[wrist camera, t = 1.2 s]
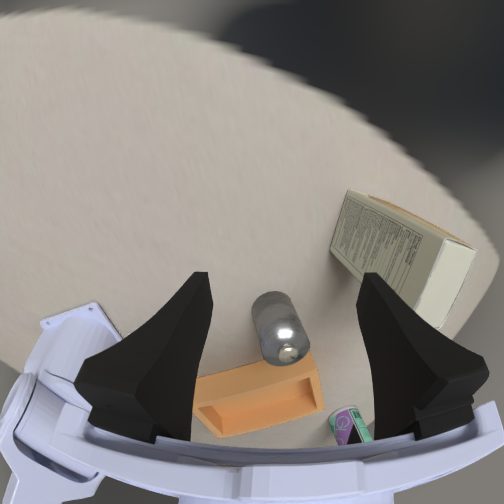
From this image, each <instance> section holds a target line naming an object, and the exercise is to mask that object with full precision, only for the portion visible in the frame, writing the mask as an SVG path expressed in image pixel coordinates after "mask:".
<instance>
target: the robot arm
mask: <svg viewBox="0 0 504 504" xmlns="http://www.w3.org/2000/svg"><path fill="white" fill-rule="evenodd" d="M91 308H92V309H91ZM356 308H357V315H358V321H359V325H360V329H361V333H362V336H363V340H364V344H365V347H366V351H367V355H368V358H369V362H370V367H371V374H372V382H373V393H374V411H375V430H374V441H370V442H364V443H357V444H349V445H341V446H331V447H318V448H298V449H262V448H241V447H229V446H219V445H210V444H202V443H195V442H190V438H191V421H192V411H193V401H194V393H195V385H196V379H197V372H198V367H199V363H200V359H201V355H202V352H203V348H204V345H205V341H206V338H207V334H208V330H209V327H210V323H211V317H212V310H213V300H212V295H211V289H210V284H209V278H208V272H194V273H193V274H192V275H191V276H190V277H189V279H188V280H187V281H186V282H185V283H184V284H183V286H182V287H181V288H180V289H179V290H178V291H177V292H176V293H175V295H174V296H173V297H172V298H171V299H170V300H169V301H168V302H167V303H166V304H165V305H164V306H163V307H162V308H161V309H160V310H159V311H158V312H157V313H156V314H155V315H154V316H153V317H152V318H151V319H149V320H148V321H147V322H146V323H145V324H143V325H142V326H141V327H140V328H138V329H137V330H136V331H134V332H133V333H131V334H130V335H128V336H127V337H126V338H124V339H122V338H121V336H120V335H119V334H118V332H117V331H116V329H115V328H114V327H113V325H112V324H111V322H110V321H109V319H108V318H107V316H106V315H105V313H104V312H103V310H102V309H101V307H100V306H99V305H98V304H97V303H95V302H93V303H90V304H87V305H84V306H81V307H78V308H75V309H72V310H69V311H67V312H64V313H61V314H58V315H55V316H52V317H49V318H46V319H43V320H41V322H40V325H41V326H42V328H43V329H44V330H43V332H42V334H41V336H40V337H39V339H38V341H37V343H36V344H35V346H34V348H33V350H32V352H31V353H30V355H29V357H28V359H27V361H26V364H25V368H24V373H23V374H21V375H20V376H19V378H18V379H17V381H16V382H15V384H14V386H13V387H12V389H11V391H10V393H9V395H8V397H7V399H6V401H5V403H4V406H3V409H2V412H1V415H0V451H1V453H2V455H3V457H4V458H5V460H6V462H7V463H8V465H9V466H10V468H11V469H12V474H11V477H10V480H9V483H8V486H7V489H6V492H5V495H4V499H3V502H2V504H62V502H64V501H69V500H75V499H81V498H86V497H91V496H93V495H94V493H95V491H96V490H97V488H98V486H99V484H100V482H101V481H102V480H103V478H104V477H105V476H109V477H112V478H114V479H117V480H120V481H123V482H125V483H128V484H131V485H134V486H137V487H140V488H144V489H147V490H151V491H154V492H158V493H161V494H166V495H169V496H174V497H178V498H179V504H394V496H393V493H395V492H399V491H402V490H406V489H409V488H412V487H415V486H418V485H421V484H424V483H427V482H429V481H432V480H435V479H437V478H440V477H443V476H445V475H447V474H450V473H452V472H454V471H456V470H459V469H461V468H463V467H465V466H468V465H470V464H471V463H474V462H476V461H477V460H479V459H481V458H483V457H485V456H486V455H488V454H490V453H491V452H493V451H495V450H496V449H498V448H500V447H501V446H503V445H504V431H503V427H502V424H501V421H500V417H499V414H498V411H497V407H496V404H495V402H494V400H492V401H490V402H487V403H485V404H482V405H480V406H478V407H476V408H474V409H472V406H471V404H472V403H474V399H473V396H472V395H473V394H474V393H475V392H476V391H477V390H478V389H479V388H480V387H481V386H482V385H483V384H484V383H485V382H486V380H487V378H488V377H489V370H488V368H487V365H486V363H485V361H484V358H483V357H482V356H480V355H478V354H476V353H474V352H471V351H469V350H467V349H466V348H464V347H462V346H460V345H459V344H457V343H455V342H454V341H452V340H450V339H449V338H447V337H446V336H444V335H443V334H442V333H440V332H439V331H437V330H436V329H435V328H433V327H432V326H431V325H430V324H428V323H427V322H426V321H425V320H424V319H422V318H421V317H420V316H419V315H418V314H417V313H416V312H415V311H414V310H413V309H412V308H410V307H409V306H408V305H407V304H406V303H405V302H404V301H403V300H402V299H401V297H400V296H399V295H398V294H397V293H396V292H395V291H394V290H393V289H392V288H391V287H390V286H389V285H388V284H387V283H386V282H385V281H384V280H383V278H382V277H381V276H380V275H379V274H378V273H377V272H366V273H364V276H363V280H362V284H361V288H360V292H359V296H358V299H357V303H356ZM215 463H216V464H215ZM217 464H226V465H237V466H244V467H218V465H217Z"/></svg>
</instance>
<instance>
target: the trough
mask: <svg viewBox="0 0 504 504" xmlns="http://www.w3.org/2000/svg"><path fill="white" fill-rule="evenodd" d="M322 410H325V405H324V400H323V395H322V390H321V384H320V379H319V374H318V370H317V367H316V365H315V362H314V360H313V358H312V355H311V353H310V351H308V353H307V354H306V355H305V356H304V357H303V358H302V359H301V360H300V361H298V362H296V363H294V364H291V365H288V366H273V365H271V364H269V363H267V362H266V361H265V360H262V361H258V362H255V363H252V364H248V365H245V366H241V367H238V368H234V369H231V370H227V371H223V372H219V373H215V374H212V375H208V376H203V377H199V378H197V379H196V385H195V393H194V401H193V411H192V412H193V413H194V415H195V416H196V417H197V418H198V419H199V420H200V421H201V422H202V423H203V424H204V425H205V426H206V427H207V428H208V429H209V430H210V431H211V432H212V433H213V434H214V435H215V436H217V437H218V438H219V439H220V438H225V437H230V436H235V435H240V434H244V433H248V432H253V431H257V430H261V429H265V428H268V427H272V426H276V425H279V424H283V423H286V422H289V421H292V420H296V419H299V418H302V417H305V416H308V415H311V414H314V413H316V412H319V411H322Z"/></svg>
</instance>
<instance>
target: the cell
mask: <svg viewBox="0 0 504 504" xmlns="http://www.w3.org/2000/svg"><path fill="white" fill-rule="evenodd" d="M252 314H253V318H254V322H255V326H256V330H257V334H258V338H259V342H260V346H261V350H262V354H263V357H264V360H265V361H266V362H267V363H269V364H271V365H273V366H288V365H291V364H294V363H296V362H298V361H300V360H301V359H302V358H303V357H304V356H305V355H306V354H307V353H308V351H309V348H310V342H309V339H308V337H307V335H306V332H305V330H304V328H303V326H302V324H301V321H300V319H299V317H298V315H297V313H296V311H295V308H294V306H293V304H292V302H291V300H290V298H289V297H288V296H287V295H286V294H285V293H282V292H278V291H272V292H267V293H265V294H263V295H261V296H260V297H258V298H257V299H256V301H255V302H254V304H253V306H252Z"/></svg>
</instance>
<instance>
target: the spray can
mask: <svg viewBox="0 0 504 504" xmlns="http://www.w3.org/2000/svg"><path fill="white" fill-rule="evenodd" d="M328 420H329V423H330V426H331V428H332V431H333V433H334V436H335V438H336V441H337V443H338V446H341V445H349V444H357V443H364V442H370V441H373V440H372V438H371V436H370V434H369V432H368V430H367V427H366V425H365V423H364V421H363V419H362V417H361V415H360V413H359V411H358V409H357V407H356V406H354V405H350V406H345V407H343V408H340V409H338V410H336V411H335V412H333V413H332V414H331V415H330V416H329V418H328Z"/></svg>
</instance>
